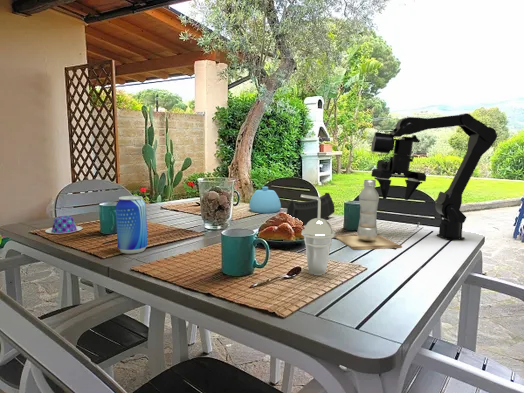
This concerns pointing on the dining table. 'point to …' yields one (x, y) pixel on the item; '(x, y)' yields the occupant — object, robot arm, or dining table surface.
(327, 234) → the cup with straw
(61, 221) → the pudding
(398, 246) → the mat
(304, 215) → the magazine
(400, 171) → the robot arm
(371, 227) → the plastic bottle
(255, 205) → the sugar bowl
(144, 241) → the beer can
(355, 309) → the dining table surface
